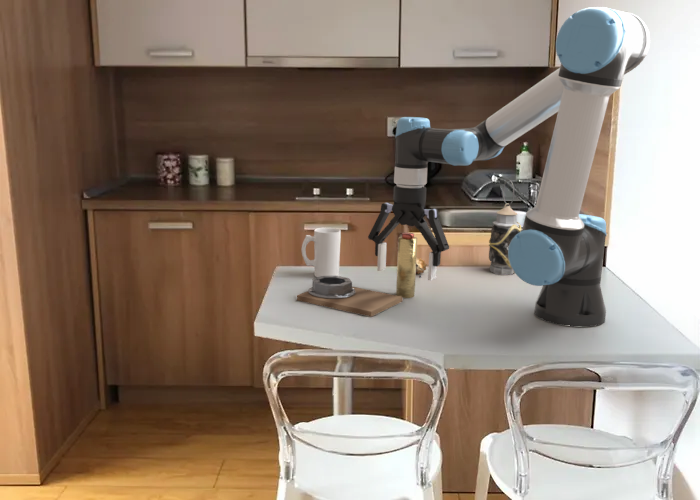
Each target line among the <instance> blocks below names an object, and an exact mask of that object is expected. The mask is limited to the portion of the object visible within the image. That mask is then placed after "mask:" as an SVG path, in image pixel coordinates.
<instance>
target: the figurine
mask: <svg viewBox="0 0 700 500" xmlns="http://www.w3.org/2000/svg"><path fill="white" fill-rule="evenodd" d="M426 267H427V264H426V261H425V260H424V259H422V258H421V257H419V258H418V257H416V274H417V275H418V277H419V278H420V279H421V278H422V274H424V272H425V271H426V270H427V268H426Z"/></svg>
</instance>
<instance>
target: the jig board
mask: <svg viewBox="0 0 700 500" xmlns="http://www.w3.org/2000/svg"><path fill="white" fill-rule="evenodd" d="M352 288H354V289H355V291H356V292H355V295H354V296H352V297H348V298H343V299H324V298H318V297H314V296H312V295H310V294H309V292H308V290H306V291H303V292H302V293H299V294H297V295H296V301H298V302H303V303H307V304H312V305H317V306H321V307H326V308H330V309H334V310H338V311H339V310H340V311H343V312H348V313H353V314H357V315H362V316H366V317H374V316H376V315H378V314H380V313H382V312H385V311H387V310H389V309H390V308H392V307H395V306H397V305H399V304H401V303H403V299H404V298H403V297H401V296H396V294H389V293H385V292H380V291H375V290H372V289H365V288H361V287H355V286H352Z"/></svg>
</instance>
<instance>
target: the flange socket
mask: <svg viewBox="0 0 700 500" xmlns="http://www.w3.org/2000/svg"><path fill="white" fill-rule="evenodd" d="M311 283H312V285H311V286H310V287H309V288H308V290H307V291H308V292H309V294H310V295H312V296H314V297H318V298H324V299H343V298H348V297H352V296H354V295H355V292H356V291H355V289H354V288H352V287H353V281H352V280H351V279H350V278H349V277H345V276H342V275H341V276H340V275H339V276H320V277H315V278H313V279H312V282H311Z"/></svg>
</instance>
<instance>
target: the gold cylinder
mask: <svg viewBox="0 0 700 500" xmlns="http://www.w3.org/2000/svg"><path fill="white" fill-rule="evenodd" d="M397 242H398V243H397V260H396V261H397V264H396V265H397V267H396V285H395V286H396V287H395V289H396V290H395V295H396V296H401V297H403V299H412V298H414V297H415V295H416V294H415V293H416V291H415V290H416V275H417V273H416V258H417V254H418V253H417V251H418V237H417V236H415V233H413V232H402V233H401V236H398V240H397Z"/></svg>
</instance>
